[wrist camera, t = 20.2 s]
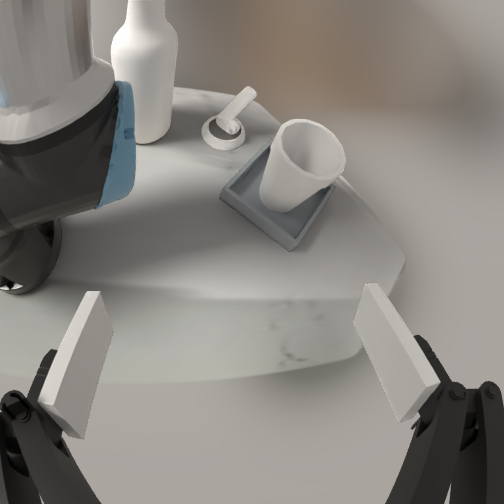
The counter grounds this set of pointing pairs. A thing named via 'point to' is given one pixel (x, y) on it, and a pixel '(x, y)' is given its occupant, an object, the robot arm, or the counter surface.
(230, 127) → the hook
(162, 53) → the alcohol
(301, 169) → the foam cup
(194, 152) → the counter surface
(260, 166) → the tray
